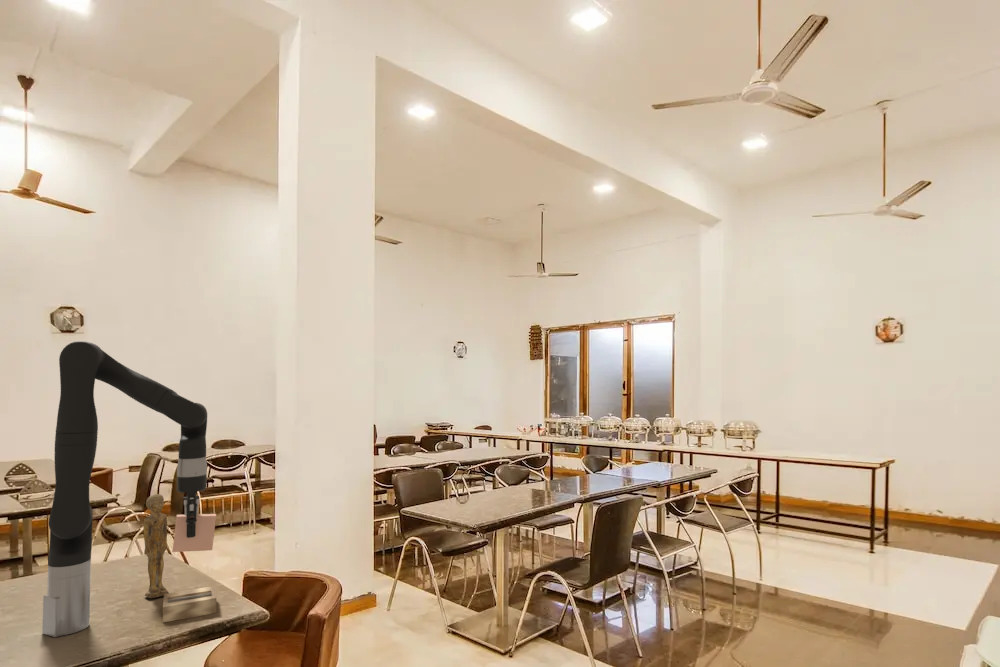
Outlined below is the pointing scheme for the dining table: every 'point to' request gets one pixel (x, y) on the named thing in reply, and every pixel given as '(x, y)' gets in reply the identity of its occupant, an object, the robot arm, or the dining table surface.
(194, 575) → the dining table surface
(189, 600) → the dispenser
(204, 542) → the pink square prism
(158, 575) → the sculpture
